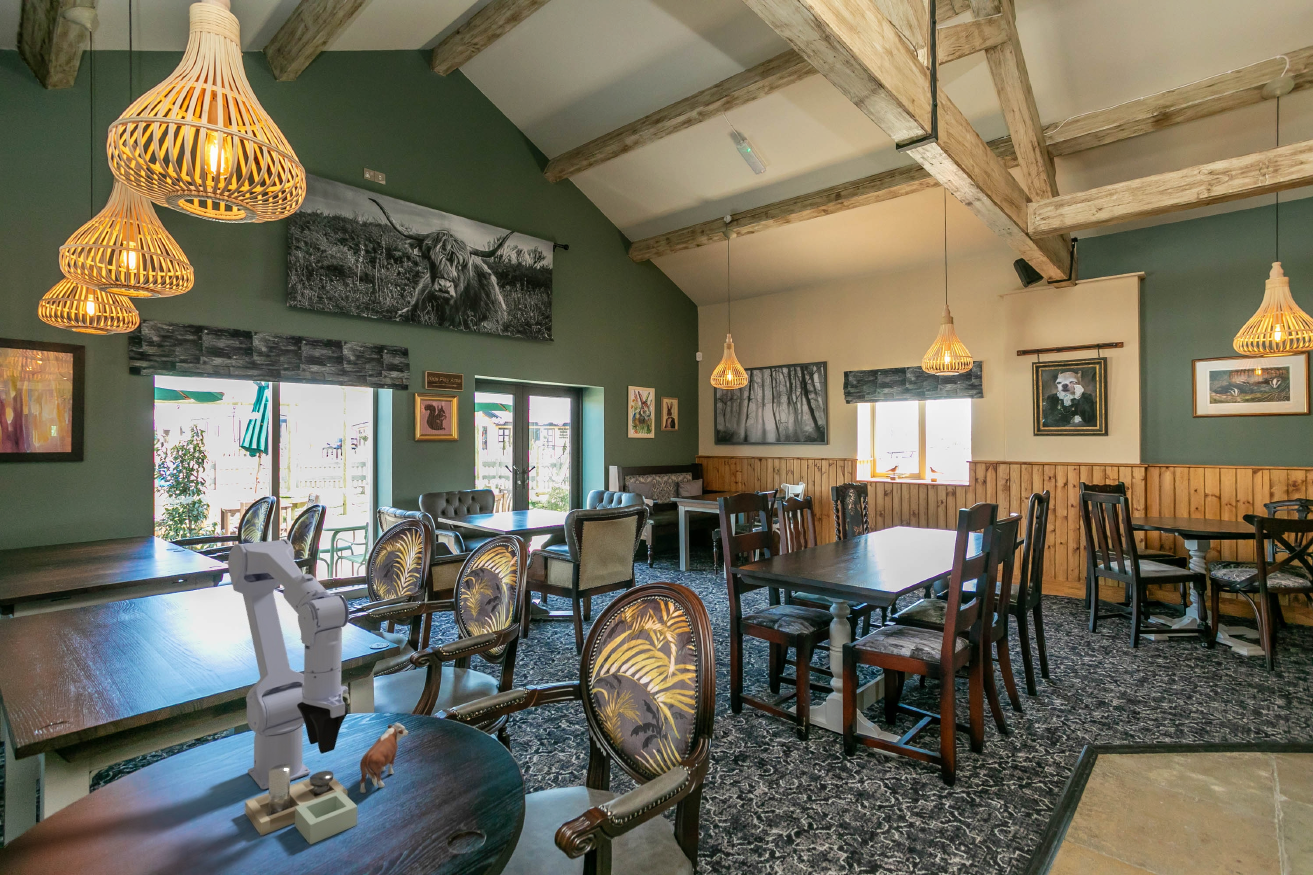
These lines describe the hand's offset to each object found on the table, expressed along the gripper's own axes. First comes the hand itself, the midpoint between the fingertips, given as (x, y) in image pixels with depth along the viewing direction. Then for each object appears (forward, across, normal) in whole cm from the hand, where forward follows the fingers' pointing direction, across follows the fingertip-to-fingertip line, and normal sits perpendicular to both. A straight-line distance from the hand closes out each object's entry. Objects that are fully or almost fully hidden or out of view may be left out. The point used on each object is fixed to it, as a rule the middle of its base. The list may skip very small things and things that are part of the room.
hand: (321, 746), depth 109 cm
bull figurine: (+10, 0, -11) cm, 14 cm away
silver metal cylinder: (+9, 0, +6) cm, 11 cm away
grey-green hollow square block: (+9, -8, +2) cm, 13 cm away
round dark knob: (+9, 0, 0) cm, 9 cm away
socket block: (+9, 0, +4) cm, 10 cm away
